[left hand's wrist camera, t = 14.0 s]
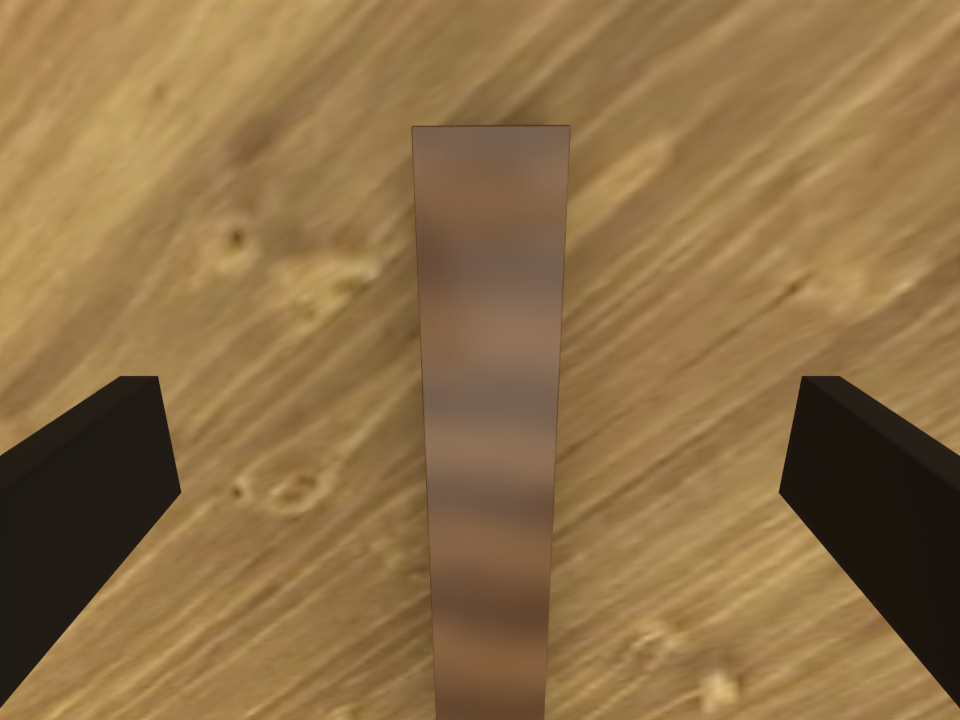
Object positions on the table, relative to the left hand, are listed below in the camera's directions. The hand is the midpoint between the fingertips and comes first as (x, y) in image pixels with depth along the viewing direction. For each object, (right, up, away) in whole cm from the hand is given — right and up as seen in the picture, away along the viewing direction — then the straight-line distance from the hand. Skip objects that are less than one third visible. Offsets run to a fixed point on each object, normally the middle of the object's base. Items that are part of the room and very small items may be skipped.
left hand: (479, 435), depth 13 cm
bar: (+1, -19, +30) cm, 36 cm away
